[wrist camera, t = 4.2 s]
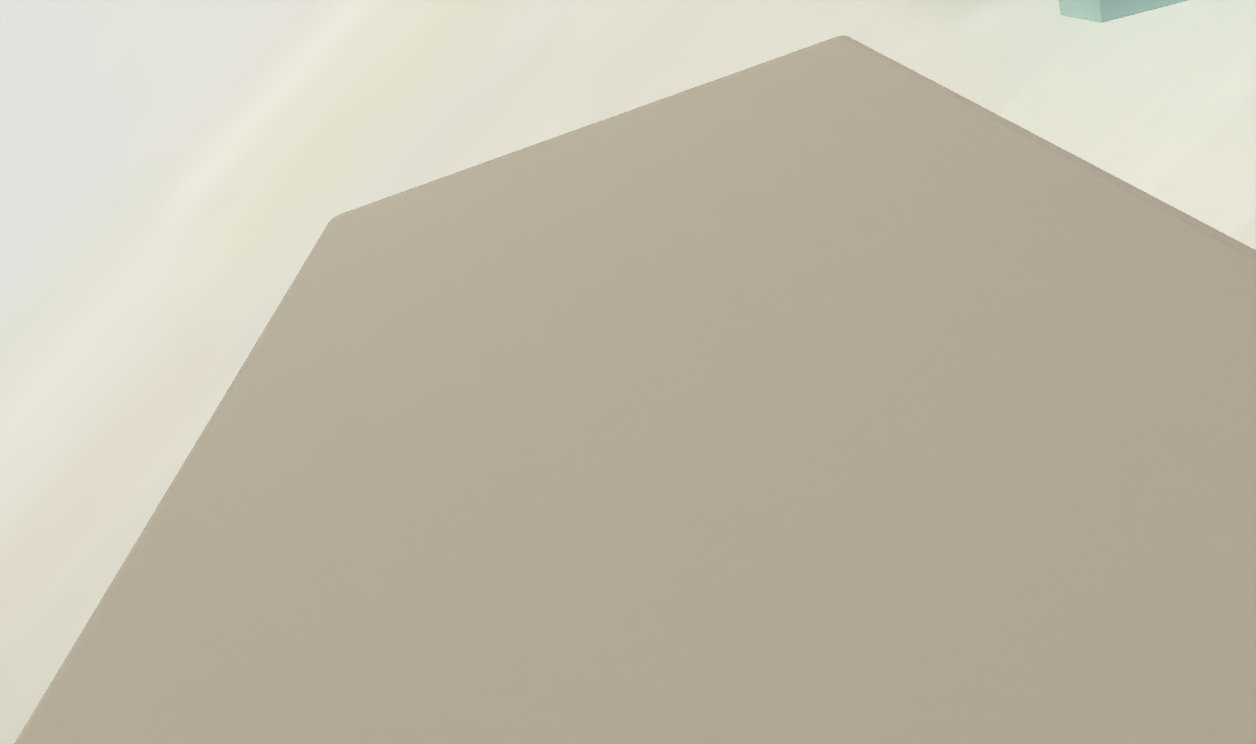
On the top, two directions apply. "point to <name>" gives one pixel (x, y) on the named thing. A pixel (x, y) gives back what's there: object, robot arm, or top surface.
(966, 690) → the milk carton
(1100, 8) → the tray
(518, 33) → the top surface
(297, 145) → the top surface
